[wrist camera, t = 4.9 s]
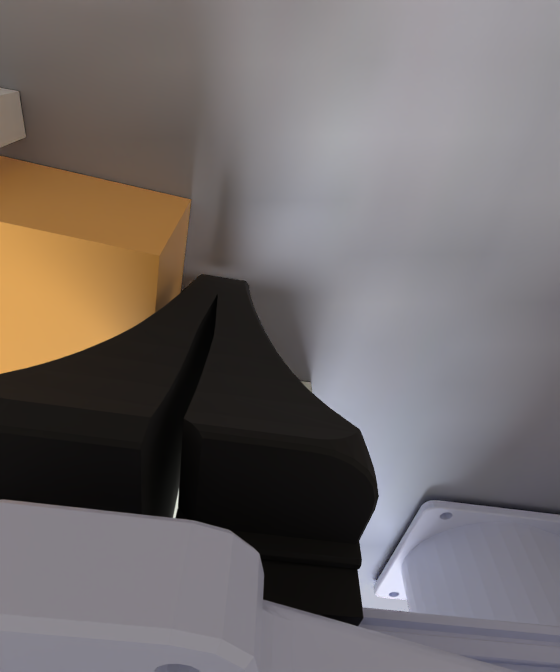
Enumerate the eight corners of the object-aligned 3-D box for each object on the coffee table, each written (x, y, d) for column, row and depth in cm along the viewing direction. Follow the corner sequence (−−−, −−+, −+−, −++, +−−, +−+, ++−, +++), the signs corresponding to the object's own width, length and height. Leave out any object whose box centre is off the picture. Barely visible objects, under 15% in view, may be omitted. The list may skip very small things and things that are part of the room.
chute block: (191, 199, 12) (159, 255, 9) (174, 347, 14) (146, 427, 11) (-9, 153, 11) (-114, 197, 8) (14, 317, 14) (-58, 393, 11)
